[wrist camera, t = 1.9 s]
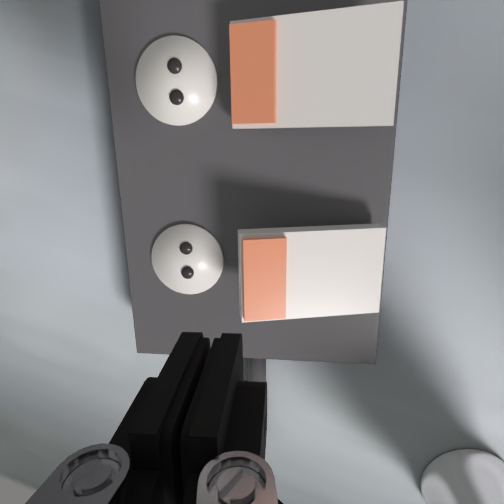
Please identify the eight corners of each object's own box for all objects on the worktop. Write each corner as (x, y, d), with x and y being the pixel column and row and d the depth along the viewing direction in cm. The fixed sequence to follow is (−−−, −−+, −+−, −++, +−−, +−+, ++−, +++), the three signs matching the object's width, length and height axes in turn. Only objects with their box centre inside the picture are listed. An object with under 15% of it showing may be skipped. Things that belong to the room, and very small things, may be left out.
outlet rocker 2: (377, 223, 20) (389, 229, 18) (370, 304, 21) (381, 314, 20) (237, 229, 19) (240, 236, 17) (239, 313, 20) (242, 325, 19)
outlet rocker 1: (403, 8, 15) (403, -2, 14) (393, 125, 17) (392, 125, 15) (238, 26, 18) (226, 19, 17) (240, 128, 19) (229, 128, 18)
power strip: (416, -301, 17) (450, -423, 13) (357, 447, 27) (367, 495, 24) (99, -261, 18) (50, -361, 14) (163, 434, 29) (145, 477, 25)
